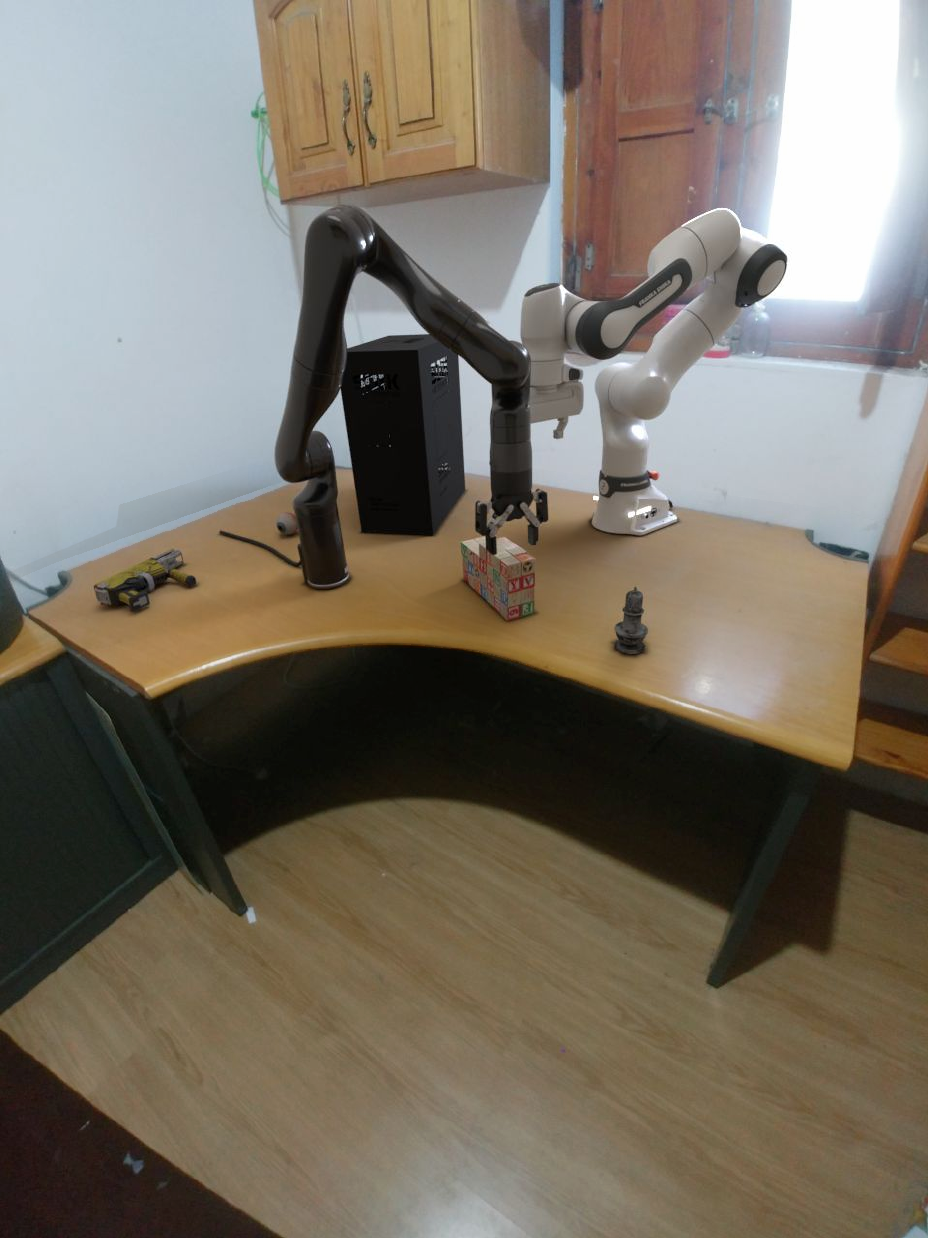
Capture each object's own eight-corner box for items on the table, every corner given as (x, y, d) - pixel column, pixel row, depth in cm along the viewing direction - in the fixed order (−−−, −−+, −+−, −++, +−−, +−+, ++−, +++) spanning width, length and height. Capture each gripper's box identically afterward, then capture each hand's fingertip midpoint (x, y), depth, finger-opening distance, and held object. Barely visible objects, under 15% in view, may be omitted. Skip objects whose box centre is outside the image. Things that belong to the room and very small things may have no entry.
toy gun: (219, 557, 146) (169, 546, 150) (142, 598, 126) (87, 585, 129) (222, 574, 148) (172, 563, 152) (147, 618, 128) (92, 604, 132)
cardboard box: (433, 535, 159) (417, 349, 136) (361, 532, 163) (335, 352, 141) (465, 489, 190) (457, 332, 168) (404, 488, 195) (388, 335, 172)
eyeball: (273, 537, 164) (268, 516, 161) (287, 528, 169) (282, 508, 166) (291, 539, 161) (286, 518, 158) (305, 530, 166) (301, 510, 163)
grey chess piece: (647, 656, 105) (654, 595, 99) (612, 653, 107) (618, 593, 101) (645, 638, 110) (652, 579, 104) (612, 636, 111) (617, 578, 105)
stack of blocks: (462, 579, 136) (459, 528, 129) (487, 573, 138) (485, 522, 132) (507, 621, 119) (506, 564, 112) (535, 613, 121) (536, 557, 114)
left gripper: (484, 476, 102) (488, 564, 110) (556, 462, 107) (555, 547, 115) (466, 466, 108) (470, 550, 116) (535, 453, 113) (535, 535, 121)
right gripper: (508, 381, 117) (509, 453, 124) (589, 369, 126) (586, 436, 133) (491, 378, 122) (493, 447, 129) (570, 366, 131) (568, 431, 138)
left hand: (512, 548), depth 115 cm, fingers open, 8 cm apart
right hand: (541, 441), depth 131 cm, fingers open, 8 cm apart
